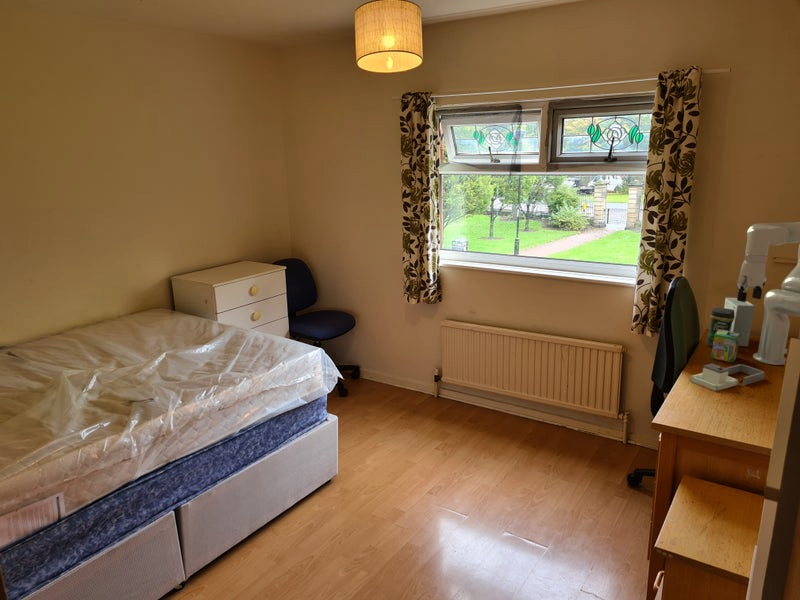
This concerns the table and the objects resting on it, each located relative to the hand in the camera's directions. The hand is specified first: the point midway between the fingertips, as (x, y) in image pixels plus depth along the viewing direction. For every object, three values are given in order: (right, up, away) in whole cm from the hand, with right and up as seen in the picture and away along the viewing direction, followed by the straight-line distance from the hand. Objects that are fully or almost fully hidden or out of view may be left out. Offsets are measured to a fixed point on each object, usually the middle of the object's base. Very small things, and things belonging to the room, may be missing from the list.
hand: (748, 299), depth 221 cm
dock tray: (-17, -33, -5) cm, 38 cm away
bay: (-4, -32, -1) cm, 32 cm away
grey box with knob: (-17, -33, -5) cm, 37 cm away
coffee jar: (+8, -22, +35) cm, 42 cm away
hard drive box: (+19, -20, +41) cm, 50 cm away
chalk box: (+2, -26, +20) cm, 33 cm away
